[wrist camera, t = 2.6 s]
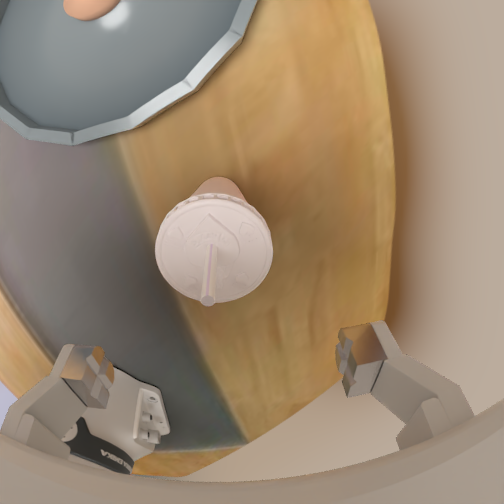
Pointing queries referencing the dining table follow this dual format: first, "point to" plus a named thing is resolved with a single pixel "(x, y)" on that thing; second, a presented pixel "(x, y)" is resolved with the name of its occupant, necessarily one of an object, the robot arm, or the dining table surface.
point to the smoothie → (214, 244)
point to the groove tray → (108, 61)
